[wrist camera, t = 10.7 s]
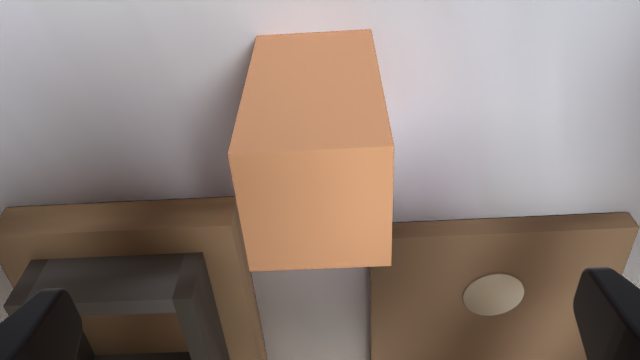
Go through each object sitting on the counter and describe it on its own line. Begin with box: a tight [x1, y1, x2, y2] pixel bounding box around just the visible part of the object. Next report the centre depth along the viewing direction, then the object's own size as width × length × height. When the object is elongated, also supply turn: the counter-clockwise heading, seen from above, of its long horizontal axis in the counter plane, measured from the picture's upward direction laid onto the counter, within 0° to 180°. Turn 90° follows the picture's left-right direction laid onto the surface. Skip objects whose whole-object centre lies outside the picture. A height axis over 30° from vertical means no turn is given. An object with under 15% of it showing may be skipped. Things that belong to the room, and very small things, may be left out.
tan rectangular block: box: [228, 29, 394, 272], centre depth 14 cm, size 3×3×6 cm
